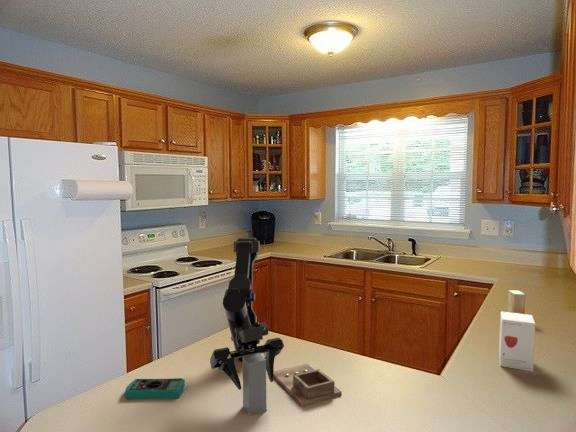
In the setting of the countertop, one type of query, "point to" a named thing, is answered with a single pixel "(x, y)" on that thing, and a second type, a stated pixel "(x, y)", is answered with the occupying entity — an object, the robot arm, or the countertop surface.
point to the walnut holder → (306, 384)
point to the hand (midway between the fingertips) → (256, 385)
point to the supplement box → (517, 341)
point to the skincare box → (516, 302)
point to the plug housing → (254, 383)
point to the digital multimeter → (155, 388)
